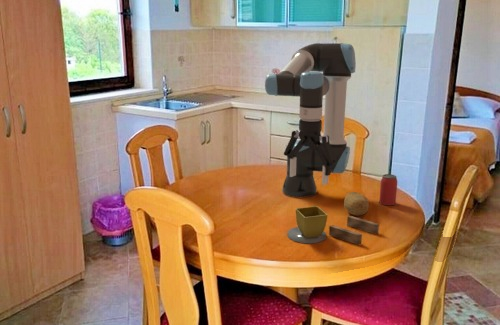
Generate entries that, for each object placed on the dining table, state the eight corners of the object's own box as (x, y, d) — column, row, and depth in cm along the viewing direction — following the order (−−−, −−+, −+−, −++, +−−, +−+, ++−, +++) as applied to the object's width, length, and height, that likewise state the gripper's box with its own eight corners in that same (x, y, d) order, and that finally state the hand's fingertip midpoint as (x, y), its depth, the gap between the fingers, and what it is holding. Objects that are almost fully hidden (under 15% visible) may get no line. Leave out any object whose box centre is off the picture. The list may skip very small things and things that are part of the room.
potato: (362, 206, 203) (363, 188, 201) (373, 219, 190) (374, 200, 187) (338, 207, 202) (339, 189, 200) (348, 220, 189) (349, 201, 187)
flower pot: (327, 238, 172) (328, 214, 170) (304, 241, 170) (304, 217, 167) (316, 228, 180) (317, 205, 178) (294, 231, 178) (294, 208, 175)
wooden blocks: (329, 235, 176) (329, 226, 175) (349, 224, 185) (349, 215, 184) (358, 245, 168) (359, 235, 167) (378, 233, 178) (378, 224, 177)
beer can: (396, 206, 203) (398, 178, 200) (379, 205, 204) (381, 177, 201) (394, 201, 209) (397, 174, 206) (378, 200, 211) (380, 173, 207)
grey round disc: (278, 235, 175) (278, 234, 175) (302, 224, 185) (302, 223, 185) (311, 247, 166) (311, 246, 166) (334, 234, 176) (334, 233, 176)
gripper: (274, 116, 170) (273, 175, 176) (336, 126, 154) (333, 190, 160) (287, 113, 175) (286, 170, 181) (349, 122, 159) (345, 185, 165)
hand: (308, 180), depth 170 cm, fingers open, 13 cm apart
